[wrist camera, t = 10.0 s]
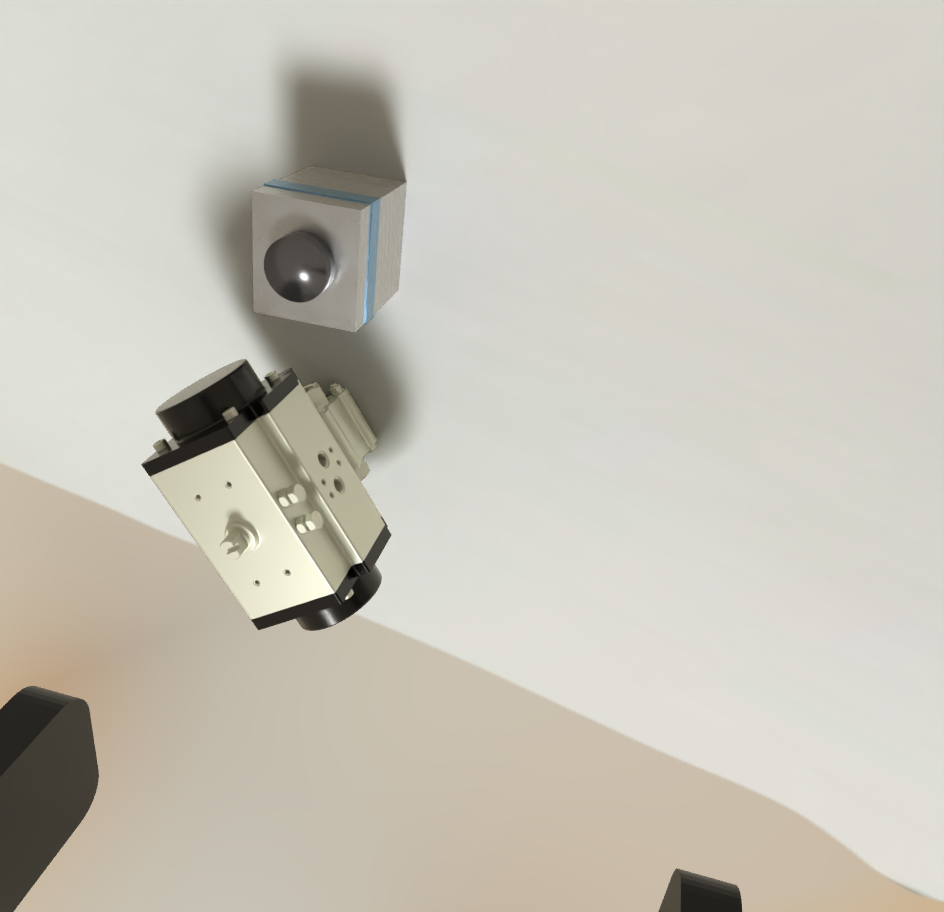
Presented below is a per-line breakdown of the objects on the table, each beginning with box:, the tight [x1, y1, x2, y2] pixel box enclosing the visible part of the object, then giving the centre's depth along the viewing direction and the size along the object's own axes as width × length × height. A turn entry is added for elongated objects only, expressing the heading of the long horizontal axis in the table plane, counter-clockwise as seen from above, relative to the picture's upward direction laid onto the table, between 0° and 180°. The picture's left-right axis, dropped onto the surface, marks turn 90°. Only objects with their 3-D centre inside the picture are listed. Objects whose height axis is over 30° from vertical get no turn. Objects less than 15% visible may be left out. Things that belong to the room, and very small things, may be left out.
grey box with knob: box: [252, 166, 407, 332], centre depth 36 cm, size 5×5×7 cm
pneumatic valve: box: [141, 359, 391, 631], centre depth 39 cm, size 6×12×12 cm, turn 28°
